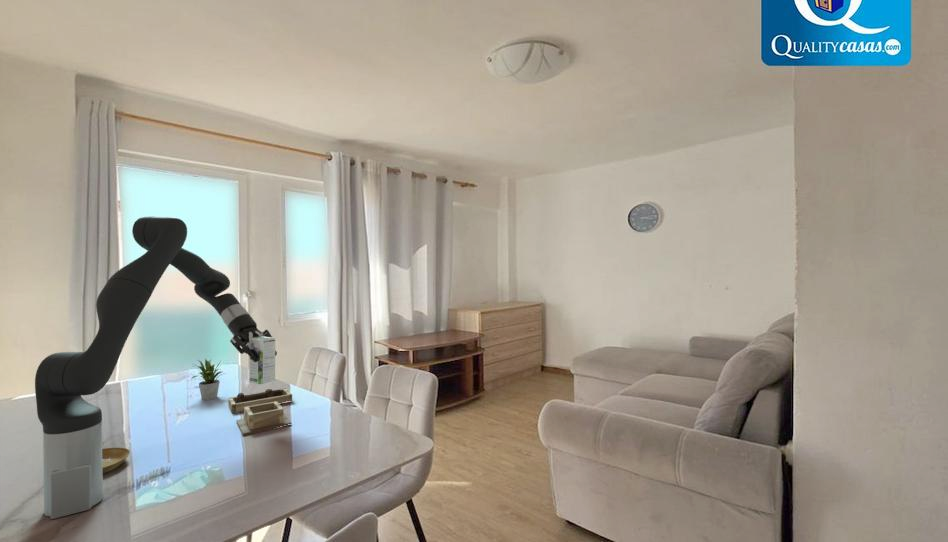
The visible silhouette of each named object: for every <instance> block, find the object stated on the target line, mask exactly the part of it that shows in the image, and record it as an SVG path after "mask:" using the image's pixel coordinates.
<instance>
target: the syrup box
mask: <svg viewBox="0 0 948 542" xmlns="http://www.w3.org/2000/svg"><path fill="white" fill-rule="evenodd" d="M252 341H253V349H254V350H255V351H256V352H257V354H258V355H259V356H260V359H259V360H258V362H254V361H253V360H252V359H251V357H250V356H249V383H250V384H257V385H263V384H267V383H270V382H274V381H276V356H275V350H276V337H273V338H271V337H254V338H252Z"/></svg>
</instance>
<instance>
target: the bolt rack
mask: <svg viewBox="0 0 948 542" xmlns="http://www.w3.org/2000/svg"><path fill="white" fill-rule="evenodd" d="M278 390H282V393H283V395H282V396H276V397H270V398H264V399H259V400H253V401H247V402H242V403H237V396H231V397H228V400H227V401H228V404H227V405H228V408H229V410H230V412H231V414H232V415H233V414H237V413H242V412H243V413H244V407H247V406H253V405H258V404H264V403H269V402H275V401H277V402H278V403H282V402H286V401H292V402H293V394H292V392H290V391H289V390H288V389H287V388H281V389H280V388H279V389H278ZM272 391H274V389H272ZM262 392H263V391H261V392H260V393H262ZM257 393H258V392H255V393H254V394H257ZM251 394H252V393H249V394H248V395H251Z"/></svg>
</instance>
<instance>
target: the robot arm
mask: <svg viewBox="0 0 948 542" xmlns="http://www.w3.org/2000/svg"><path fill="white" fill-rule="evenodd" d="M131 229H132V237H133V239H134V241H135V242H136V244H137V245H139V246H140V247H141V248H142V249H144V250H146V252H145V253H143V254H142V255H140V257H137V258H136V259H134V260H133V261H131V262H129V263H128V264H126V265H125V266H123V267H121V268H120V269H118V270H117V271H116V272H115V273H114V274H113V275H111V276H110V278H109V279H108V280H107V282H106V284H105V285H104V286H103V288H102V290H101V291H100V292H99V294H98V296H97V298H96V303H95V308H96V314H97V315H96V316H97V318H98V319H97V320H98V330H97V333H96V335H95V337H94V339H93V340H92V342H91V343H90V345H89V346H88V348H87V349H86V350H85V351H64V352H63V351H62V352H55V353H51V354H49V355H48V356H46V357H45V358H44V359H43V360H42V361H41V362H40V363H39V365H38V367H37V369H36V373H35V377H34V391H35V401H36V414H37V418H38V420H39V422H40V423H41V425H42V443H43V445H42V447H43V448H42V451H43V452H42V453H43V454H42V455H43V456H42V457H43V458H42V459H43V460H42V461H43V464H42V465H43V507H44V508H43V512H44V516H45V517H49V518H50V519H49V520H55V519H58V518H63V517H65V516H69V515H73V514H77V513H81V512H84V511H89V510H91V509H92V508H93V506H95V505H97V504H99V503H100V502H101V500H103V497H104V477H103V475H104V474H103V467H102V449H103V413H102V409H101V408H100V407H98V406H96V405H94V404H91V403H89V402H88V401H86V400H85V399H84V398H83V397H82V396H89V395H90V396H91V395H95V394H96V393H98V392H100V391H101V390H102V389H103V388H104V387H105V386H106V384H108V382H109V380H110V379H111V376H112V375H113V373H114V371H115V369H116V366H117V364H118V361H119V358H120V356H121V354H122V351H123V349H124V347H125V345H126V342H127V340H128V338H129V335H130V334H131V332H132V330H133V328H134V326H135V324H136V322H137V320H138V318H139V317H140V315H141V314H142V312H143V310H144V309H145V307H146V306H147V304H148V302H149V300H150V298H151V297H152V295H153V292H154V291H155V289H156V287H157V285H158V283H159V281H160V279H161V278H162V277H163V275H164V273H165V272H166V270H167V268H168V267H169V266H170V265H171V266H173V267H174V268H175V269H177V270H178V271H179V272H180V273H181V274H182V275H183V276H185V277H186V279H188V280H189V281H190V282H191V283H193V284H194V287H193V288H194V289H193V290H194V293H195V294H196V295H197V296H198V297H199V298H201V299H202V300H204V301H205V302H206V303H208V304H209V305H210V306H211V307H213V309H214V310H215V312H216V313H217V314H218V315H219V316H220V317H221V319H222V321H223V323H224V325H225V326H226V327H227V328H228V330H229V332H230V333H231V334H232V335H233V337H232V338H231V339H230V340H229V342H230V343H231V345H233V346H234V348H235V349H236V350H237V351H238V353H239V354H241V355H242V354H246V355H248V357H249V358H250V357H251V359H252V360H253V361H254V362H258V360H259V359H260V356H259V355H258V354H257V352H256V351H255V350H254V349H253V341H252V338H254V337H271V338H274V337H273V336H272V335H271V332H270V331H269V330H268V329H264V330H263V331H261V330H260V329H258V327H257V326H258V325H257V322H256V321H255V320H254V318H253V317H252V316H251V315H250V313H249V311H247V309H246V308H245V307H244V306H243V305H242V304H241V303H240V302H239V301H238V299H237V298H236V296H235V295H234V294H232V293H229V292H228V293H224V292H225V291H227V290H228V289H229V288H230V286H231V281H230V279H229V277H228V276H227V275H226V274H225V273H223V272H222V271H219V270H217V269H214V268H212V267H211V266H210V265H209V264H208V263H207V262H206V261H205V260H204V259H203V258H202V257H200V256H199V255H198V254H196V253H194V252H191V251H189V250H188V249H185V248H183V247H184V244H185V242H186V240H187V236H188V227H187V224H186V222H185V221H183V220H182V219H181V218H178V217H172V216H142V217H139V218H137V219H136V221H134V222H133V226H132V228H131ZM223 293H224V294H223ZM277 355H278V352H277V351H276V349H275V357H276V356H277Z"/></svg>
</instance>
